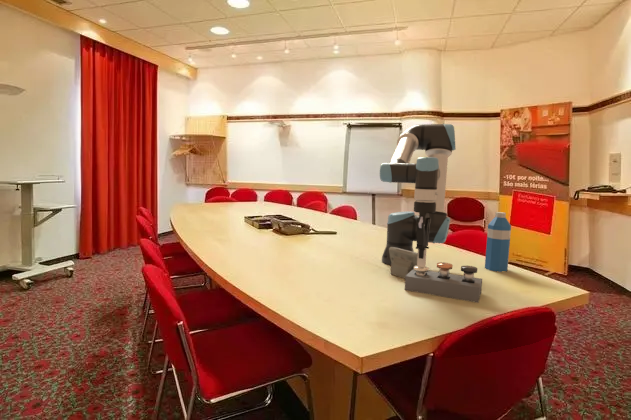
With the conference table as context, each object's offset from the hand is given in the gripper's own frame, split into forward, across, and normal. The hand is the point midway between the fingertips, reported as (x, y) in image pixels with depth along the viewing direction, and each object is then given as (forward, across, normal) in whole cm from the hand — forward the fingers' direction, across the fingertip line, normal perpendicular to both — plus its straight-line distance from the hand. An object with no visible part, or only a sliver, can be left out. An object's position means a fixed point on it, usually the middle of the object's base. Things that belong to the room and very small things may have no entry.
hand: (421, 266), depth 137 cm
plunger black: (+3, 0, -16) cm, 16 cm away
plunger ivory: (+5, 0, 0) cm, 5 cm away
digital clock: (+8, +13, +9) cm, 18 cm away
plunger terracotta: (+3, 0, -8) cm, 8 cm away
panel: (+8, 0, -8) cm, 11 cm away
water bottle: (+8, +46, -23) cm, 52 cm away
